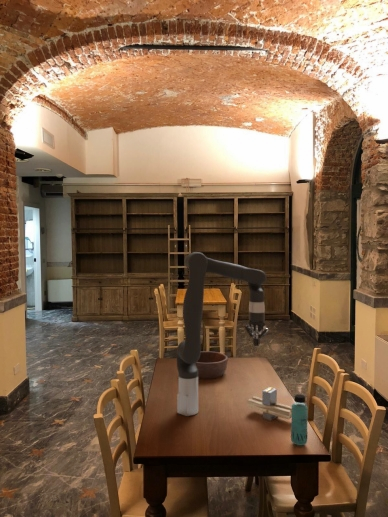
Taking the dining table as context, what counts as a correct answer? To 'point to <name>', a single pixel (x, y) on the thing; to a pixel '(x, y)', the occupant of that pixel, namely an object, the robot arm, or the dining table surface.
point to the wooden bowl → (211, 364)
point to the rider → (269, 396)
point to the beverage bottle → (299, 421)
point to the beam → (270, 409)
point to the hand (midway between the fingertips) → (256, 345)
